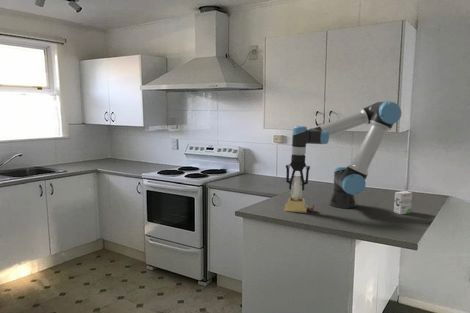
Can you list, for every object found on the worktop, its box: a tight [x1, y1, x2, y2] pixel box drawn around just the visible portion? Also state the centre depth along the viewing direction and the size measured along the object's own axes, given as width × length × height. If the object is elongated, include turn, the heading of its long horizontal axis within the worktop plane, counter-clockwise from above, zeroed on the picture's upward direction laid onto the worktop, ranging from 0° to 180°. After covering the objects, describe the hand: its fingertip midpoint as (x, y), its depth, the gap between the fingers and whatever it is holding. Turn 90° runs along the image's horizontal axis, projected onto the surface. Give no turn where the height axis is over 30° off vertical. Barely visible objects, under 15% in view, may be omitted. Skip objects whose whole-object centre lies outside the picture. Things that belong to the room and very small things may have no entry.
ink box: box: [393, 190, 413, 215], centre depth 208 cm, size 9×5×12 cm, turn 116°
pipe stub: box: [291, 175, 302, 201], centre depth 207 cm, size 4×4×14 cm
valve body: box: [284, 196, 315, 214], centre depth 208 cm, size 16×9×6 cm, turn 76°
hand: (296, 195), depth 208 cm, fingers closed on pipe stub, 4 cm apart
